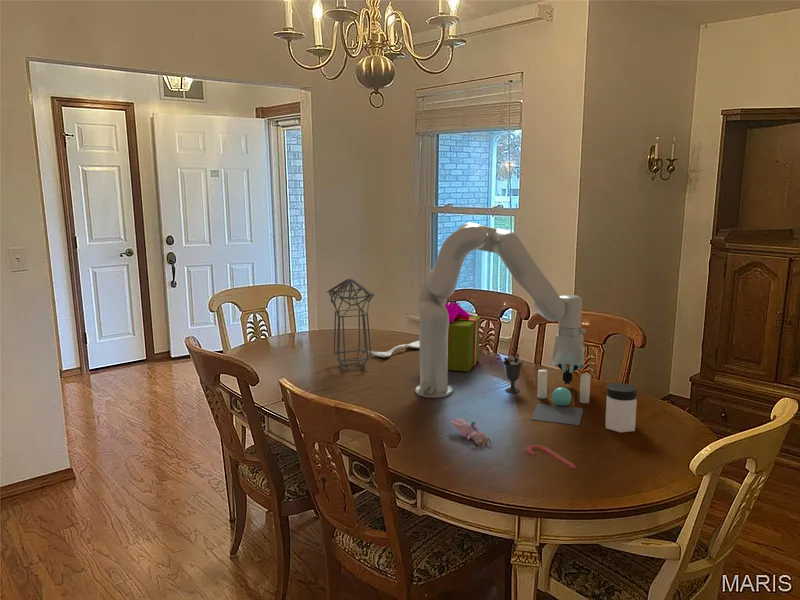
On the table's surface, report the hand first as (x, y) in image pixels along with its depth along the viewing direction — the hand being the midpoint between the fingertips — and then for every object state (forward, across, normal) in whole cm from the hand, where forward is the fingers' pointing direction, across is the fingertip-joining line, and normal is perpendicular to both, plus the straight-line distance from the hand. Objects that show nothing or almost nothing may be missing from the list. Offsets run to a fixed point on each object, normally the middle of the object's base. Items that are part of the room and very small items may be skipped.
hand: (567, 382), depth 209 cm
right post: (+2, -7, +13) cm, 15 cm away
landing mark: (+2, 0, +27) cm, 27 cm away
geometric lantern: (+2, +81, +3) cm, 81 cm away
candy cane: (+2, -2, +58) cm, 58 cm away
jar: (+2, -18, +31) cm, 36 cm away
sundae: (+2, +17, +10) cm, 20 cm away
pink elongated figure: (+2, +21, +53) cm, 57 cm away
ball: (-2, 0, +19) cm, 19 cm away
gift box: (+2, +45, -13) cm, 47 cm away
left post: (+2, +7, +13) cm, 15 cm away
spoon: (+2, +70, -25) cm, 75 cm away
